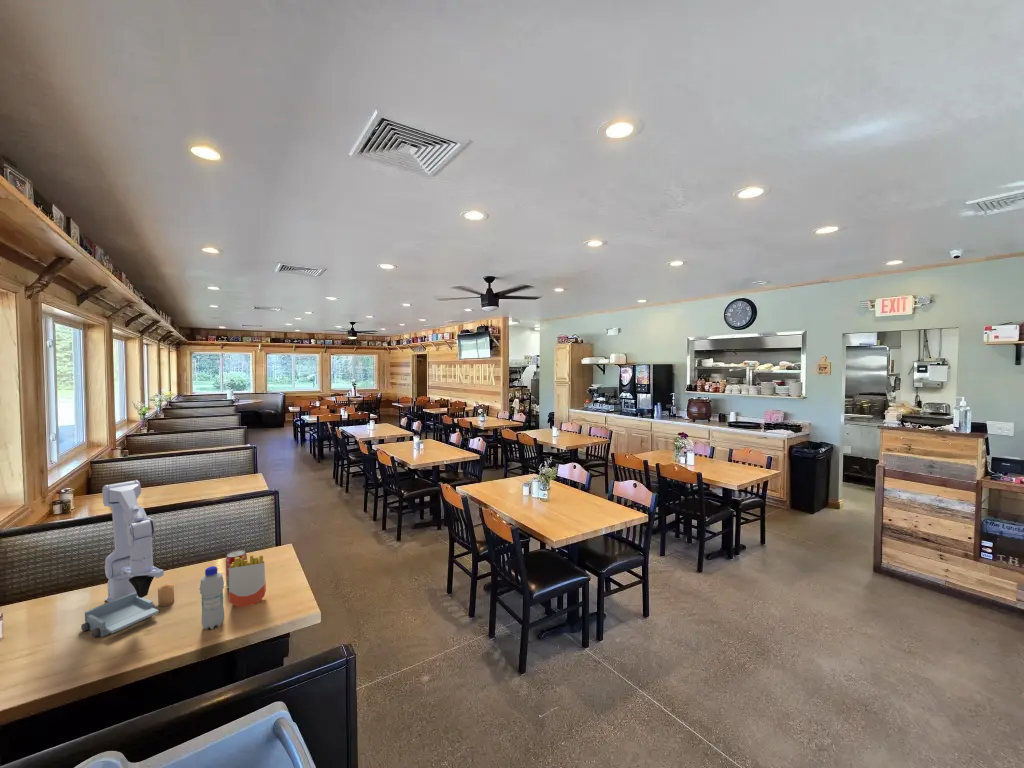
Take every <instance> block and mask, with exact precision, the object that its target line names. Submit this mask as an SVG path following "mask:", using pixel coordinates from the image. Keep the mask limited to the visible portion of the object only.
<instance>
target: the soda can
mask: <svg viewBox="0 0 1024 768" xmlns="http://www.w3.org/2000/svg"><path fill="white" fill-rule="evenodd" d="M235 557H240V559H242V557H244V560H247V561H248V557H247V553H246V551H245V550H243V549H239V550H238V549H237V550H234V551H231V552H228V553H227V554H226V558H225V579H226V581H225V582H226V588H228V589H229V567H230V565H231V564H232V562H234V564H235ZM239 562H240V560H239Z"/></svg>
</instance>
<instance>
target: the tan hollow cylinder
mask: <svg viewBox="0 0 1024 768" xmlns="http://www.w3.org/2000/svg"><path fill="white" fill-rule="evenodd" d="M157 600H158V605H157V607H166V606H169V605H172V604H173V603H175V584H173V583H167V584H166V583H165V584H162V585H161V586H159V587H158V588H157Z"/></svg>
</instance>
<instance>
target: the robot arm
mask: <svg viewBox="0 0 1024 768" xmlns="http://www.w3.org/2000/svg"><path fill="white" fill-rule="evenodd" d="M141 492H142V486H141V482H140V481H139V480H138V479H135V480H130V481H124V482H118V483H111V484H105V485H103V486H102V490H101V493H102V494H101V495H102V503H103V505H104V507H107V508H110V509H111V515H112V516H111V517H112V526H113V527H112V528H113V538H114V539H113V540H114V541H113V542H114V550H113V551H112V552H111V553H109V555H107V556H106V557H105V560H104V561H105V563H104V572H105V576H106V579H108V581H107V597H106V598H105V599H104V601H107V603H108V602H111V601H113V600H116V599H118V598H121V597H123V596H126V595H128V594H131V593H134V592H136V593H137V595H138V597H139V598H145V597H146V596H148V594H149V591H150V587H151V584H152V582H153V580H154V579H159V578H162V577H163V576H164V569H160V568H158V567H156V566H154V560H153V558H154V557H153V556H154V555H153V536H155V524H154V520H153V518H151V517H148V515H147V513H146V511H145V509H144V507H143V506H139V504H138V498H139V497H140V495H141Z"/></svg>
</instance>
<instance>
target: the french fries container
mask: <svg viewBox="0 0 1024 768" xmlns="http://www.w3.org/2000/svg"><path fill="white" fill-rule="evenodd" d="M239 560H240V562H239ZM265 566H266V565H265V561H264V554H260V555H259V557H257V556H256V557H255V556H254V555H250V556H249V562H248V559H247V560H244V557H242V559H240V557H235V564H234V562H232V564H231V565H230V567H229V588H228V590H229V591H228V594H229V603H230V604H231V605H234V606H235V607H237V608H242V607H243V608H244V607H248V606H249V607H250V606H254V605H257V604H258V603H259V602H260V601H261V600H262V599H263V598H264V597H265V595H266V592H267V591H266V590H267V587H266V586H267V584H266V567H265Z"/></svg>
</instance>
